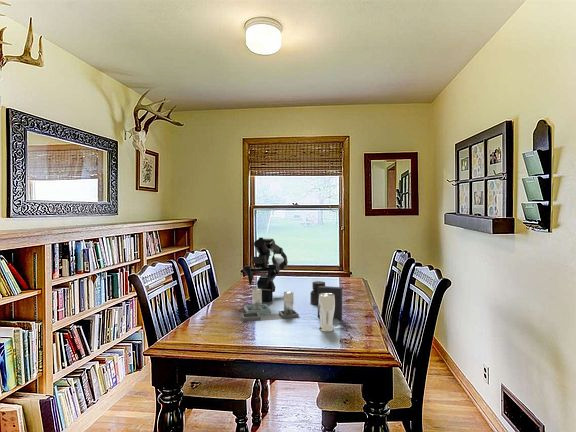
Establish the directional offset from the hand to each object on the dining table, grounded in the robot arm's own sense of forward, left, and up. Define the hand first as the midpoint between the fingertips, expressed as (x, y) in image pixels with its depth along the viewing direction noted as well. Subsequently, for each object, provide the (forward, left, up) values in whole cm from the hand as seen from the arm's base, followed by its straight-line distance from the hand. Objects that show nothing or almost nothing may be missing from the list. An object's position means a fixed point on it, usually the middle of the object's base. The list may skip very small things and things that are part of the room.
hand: (258, 284), depth 209 cm
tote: (+2, +8, -13) cm, 15 cm away
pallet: (-2, +20, -13) cm, 24 cm away
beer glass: (-22, +42, -13) cm, 49 cm away
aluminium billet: (+2, +8, -12) cm, 14 cm away
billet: (-11, +20, -12) cm, 25 cm away
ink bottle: (-33, -1, -13) cm, 35 cm away
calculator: (-29, +27, -13) cm, 42 cm away
